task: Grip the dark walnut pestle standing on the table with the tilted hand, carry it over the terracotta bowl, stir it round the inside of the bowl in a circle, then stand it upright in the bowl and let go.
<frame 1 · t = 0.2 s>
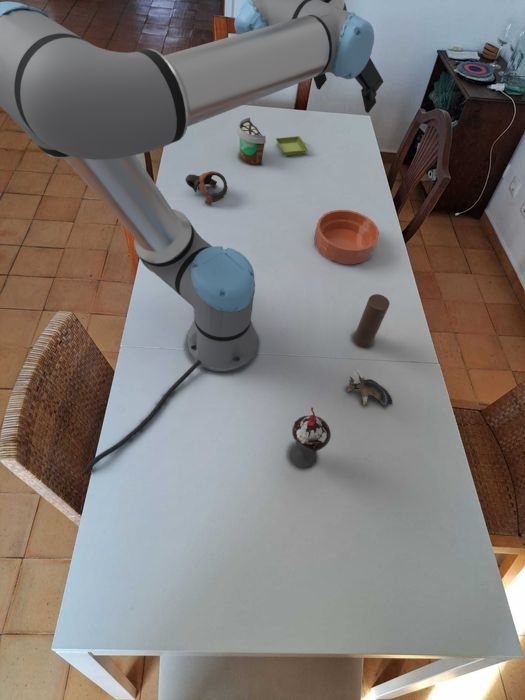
hand: (345, 95, 99), 35 cm above the table, tool tilted 35°, fingers open, 13 cm apart
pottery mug: (207, 195, 133), on the table
pestle: (362, 340, 105), on the table
bowl: (343, 245, 124), on the table
saucer: (290, 150, 151), on the table
animal figurine: (366, 397, 96), on the table
food container: (246, 159, 146), on the table
sundae: (302, 455, 87), on the table
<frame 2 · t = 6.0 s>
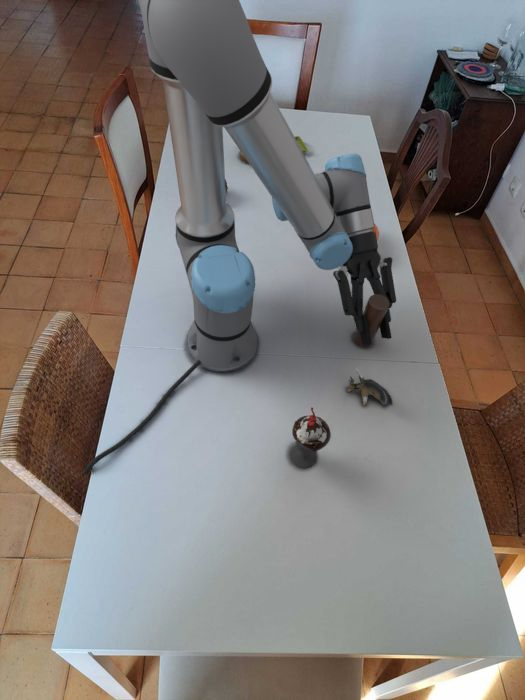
hand: (376, 340, 99), 4 cm above the table, tool tilted 45°, fingers closed on pestle, 4 cm apart
pestle: (362, 339, 105), on the table, touching gripper
everything else where it was.
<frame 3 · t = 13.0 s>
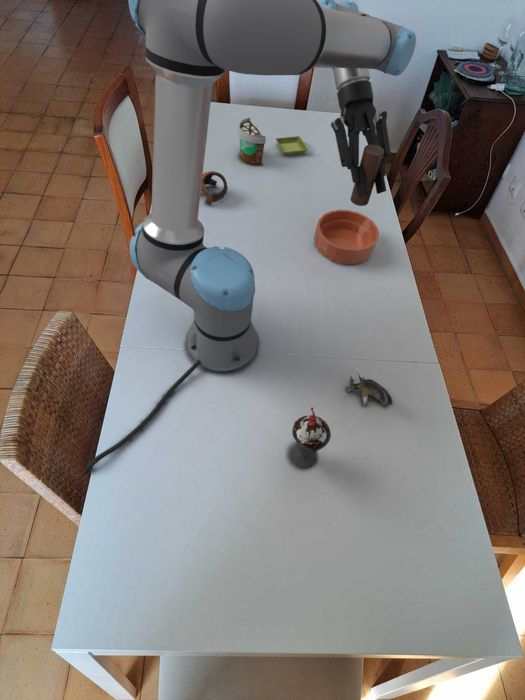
hand: (372, 194, 105), 20 cm above the table, tool tilted 45°, fingers closed on pestle, 4 cm apart
pestle: (359, 200, 110), point 16 cm above the table, touching gripper
everything else where it was.
when the fingers open (5 cm above the table, at t = 20.1 s): pestle stays where it is, resting on bowl.
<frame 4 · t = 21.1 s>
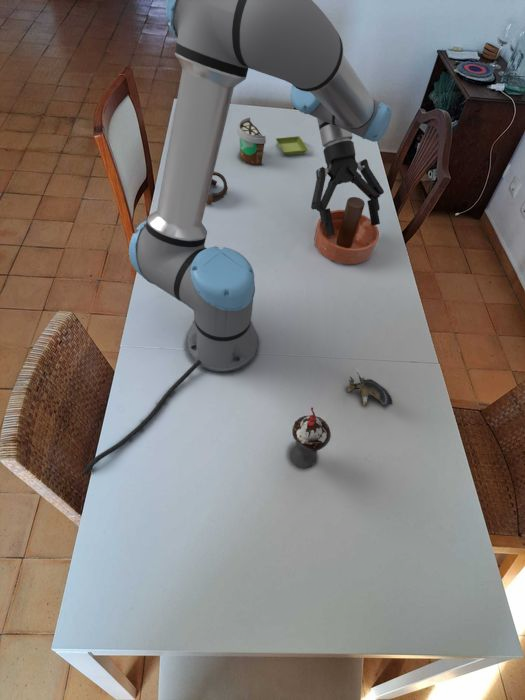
hand: (353, 230, 117), 7 cm above the table, tool tilted 45°, fingers open, 13 cm apart
pestle: (344, 243, 123), point 1 cm above the table, touching bowl
everything else where it was.
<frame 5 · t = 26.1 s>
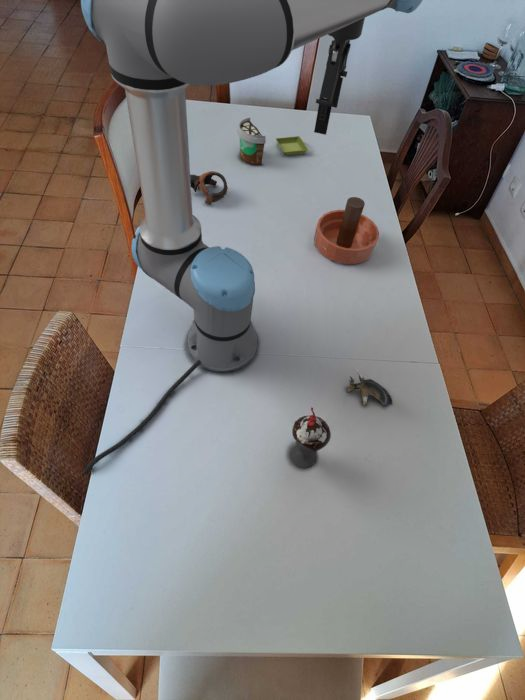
hand: (326, 119, 106), 29 cm above the table, tool pointing down, fingers open, 13 cm apart
nothing on the table moved.
at the end: pestle inside the target area in the bowl (0.1 cm from its centre), point 0.8 cm above the bowl's base; pestle tilted 0°; the gripper is holding nothing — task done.
